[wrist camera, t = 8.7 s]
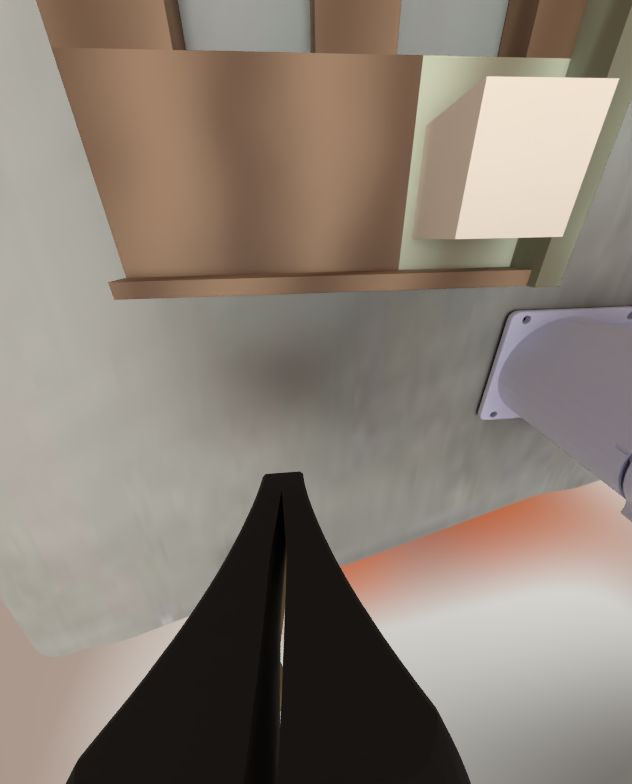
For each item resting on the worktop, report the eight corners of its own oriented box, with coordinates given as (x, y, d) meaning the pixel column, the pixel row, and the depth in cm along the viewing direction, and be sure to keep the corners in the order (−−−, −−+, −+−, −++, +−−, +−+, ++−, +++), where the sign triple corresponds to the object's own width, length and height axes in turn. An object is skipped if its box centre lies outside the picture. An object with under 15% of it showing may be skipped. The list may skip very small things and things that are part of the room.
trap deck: (627, -163, 10) (819, -392, 6) (501, 275, 16) (559, 286, 13) (4, -210, 8) (-202, -535, 5) (149, 286, 15) (107, 302, 12)
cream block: (519, 126, 12) (619, 78, 8) (492, 236, 13) (562, 236, 10) (425, 125, 11) (486, 76, 8) (411, 238, 13) (454, 239, 10)
